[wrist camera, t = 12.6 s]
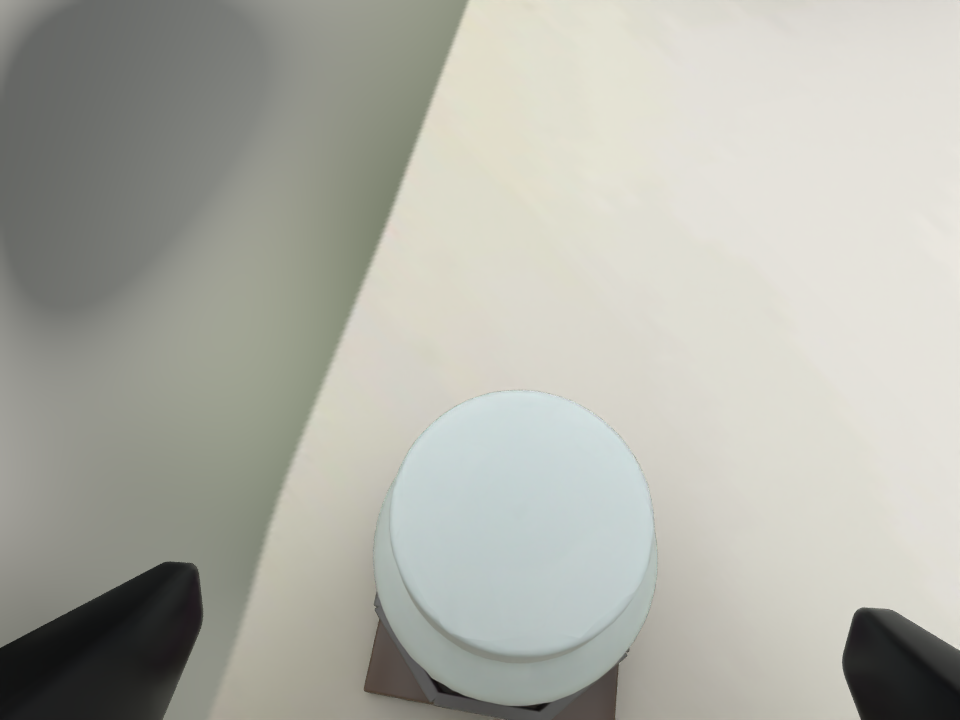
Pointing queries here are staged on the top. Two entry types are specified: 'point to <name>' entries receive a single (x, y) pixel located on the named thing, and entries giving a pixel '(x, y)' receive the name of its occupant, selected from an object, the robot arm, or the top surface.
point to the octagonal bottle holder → (398, 675)
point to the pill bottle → (517, 548)
